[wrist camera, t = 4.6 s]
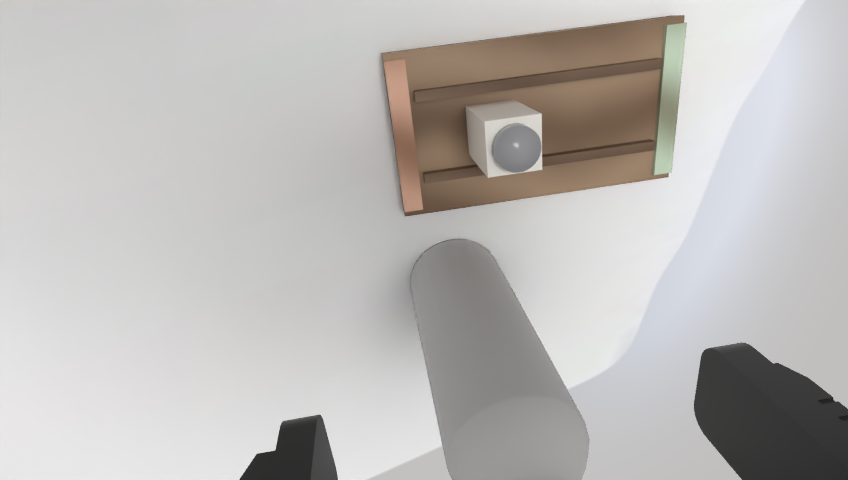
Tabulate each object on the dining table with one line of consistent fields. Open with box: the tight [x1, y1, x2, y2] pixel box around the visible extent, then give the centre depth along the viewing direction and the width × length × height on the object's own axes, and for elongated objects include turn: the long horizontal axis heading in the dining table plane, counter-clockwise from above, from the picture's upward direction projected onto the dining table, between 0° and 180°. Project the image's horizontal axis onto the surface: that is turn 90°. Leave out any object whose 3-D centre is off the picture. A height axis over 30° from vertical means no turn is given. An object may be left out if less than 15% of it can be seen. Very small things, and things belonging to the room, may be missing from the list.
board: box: [382, 15, 687, 216], centre depth 31 cm, size 10×18×2 cm, turn 96°
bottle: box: [410, 239, 589, 480], centre depth 23 cm, size 7×7×28 cm
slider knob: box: [465, 100, 542, 178], centre depth 28 cm, size 3×3×6 cm
